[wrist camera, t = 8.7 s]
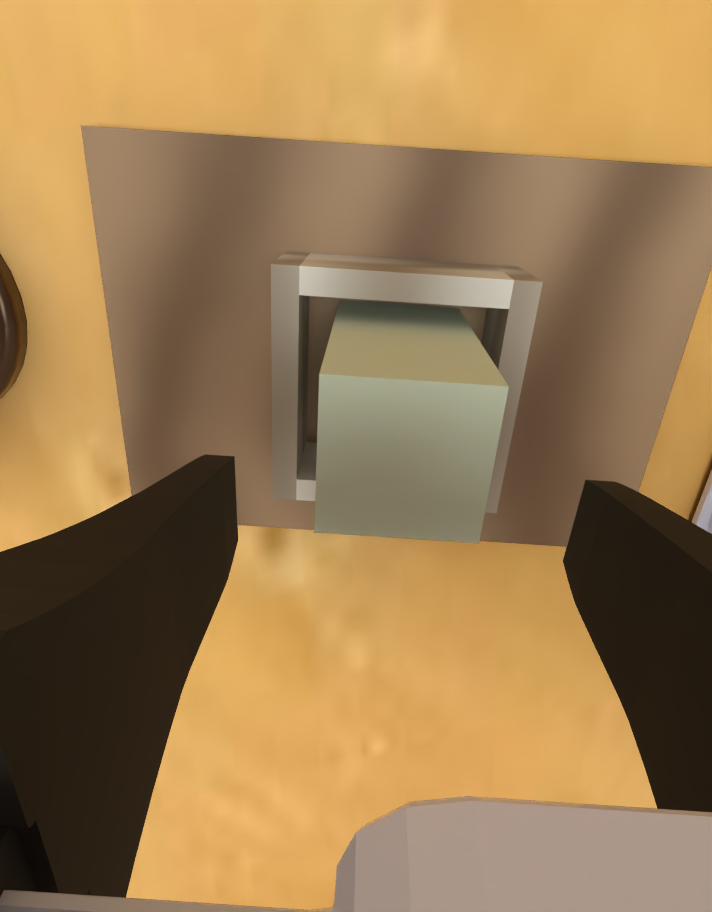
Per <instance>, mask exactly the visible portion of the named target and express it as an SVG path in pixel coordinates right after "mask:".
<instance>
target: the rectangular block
mask: <svg viewBox="0 0 712 912" xmlns="http://www.w3.org/2000/svg"><path fill="white" fill-rule="evenodd" d="M508 389H509V386H508V384H507V383H506V381H505V380H504V378H503V377H502V375H501V373H500V372H499V370H498V369H497V367H496V366H495V364H494V363H493V361H492V360H491V358H490V356H489V355H488V353H487V352H486V350H485V349H484V347H483V346H482V344H481V342H480V341H479V339H478V338H477V336H476V335H475V333H474V332H473V330H472V328H471V327H470V325H469V324H468V322H467V321H466V319H465V318H464V316H463V315H462V313H461V311H460V310H459V308H454V307H439V306H425V305H410V304H395V303H380V302H365V301H350V300H340V302H339V305H338V309H337V313H336V316H335V320H334V323H333V327H332V330H331V334H330V337H329V341H328V345H327V348H326V352H325V355H324V359H323V362H322V366H321V369H320V373H319V398H318V428H317V459H316V490H315V521H314V532H317V533H332V534H347V535H362V536H377V537H392V538H407V539H422V540H437V541H451V542H466V543H479V541H480V535H481V530H482V525H483V520H484V515H485V509H486V504H487V499H488V494H489V488H490V483H491V478H492V473H493V467H494V462H495V457H496V452H497V447H498V441H499V436H500V431H501V426H502V420H503V415H504V410H505V405H506V400H507V394H508Z"/></svg>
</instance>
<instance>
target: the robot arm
mask: <svg viewBox="0 0 712 912" xmlns="http://www.w3.org/2000/svg"><path fill="white" fill-rule="evenodd" d="M237 542H238V526H237V502H236V478H235V456H222V455H207V454H205V455H203V456H200V457H198V458H196V459H195V460H193V461H191V462H189V463H188V464H186V465H184V466H183V467H181V468H179V469H178V470H176V471H174V472H173V473H171V474H170V475H168V476H166V477H164V478H163V479H161V480H159V481H158V482H156V483H154V484H153V485H151V486H149V487H148V488H146V489H144V490H143V491H141V492H139V493H137V494H135V495H133V496H131V497H130V498H128V499H126V500H124V501H122V502H120V503H118V504H116V505H115V506H113V507H111V508H109V509H107V510H105V511H103V512H101V513H99V514H97V515H95V516H93V517H91V518H89V519H86V520H84V521H82V522H80V523H78V524H75V525H73V526H70V527H68V528H66V529H63V530H61V531H58V532H56V533H54V534H51V535H49V536H46V537H43V538H41V539H38V540H35V541H32V542H29V543H26V544H23V545H20V546H17V547H14V548H11V549H8V550H5V551H2V552H0V912H712V470H711V473H710V475H709V478H708V480H707V483H706V485H705V488H704V491H703V493H702V496H701V498H700V501H699V504H698V506H697V509H696V511H695V514H694V517H693V519H692V522H690V521H688V520H686V519H685V518H683V517H681V516H679V515H678V514H676V513H674V512H673V511H671V510H669V509H667V508H666V507H664V506H662V505H660V504H659V503H657V502H655V501H653V500H652V499H650V498H648V497H646V496H644V495H642V494H641V493H639V492H637V491H635V490H633V489H631V488H629V487H627V486H625V485H622V484H620V483H618V482H613V481H598V480H585V483H584V487H583V490H582V494H581V498H580V501H579V505H578V509H577V512H576V516H575V519H574V523H573V527H572V530H571V534H570V538H569V541H568V545H567V549H566V552H565V556H564V559H563V563H564V567H565V570H566V574H567V578H568V581H569V585H570V588H571V591H572V595H573V598H574V601H575V604H576V606H577V608H578V611H579V613H580V615H581V617H582V619H583V622H584V624H585V626H586V628H587V630H588V632H589V635H590V637H591V639H592V641H593V643H594V645H595V647H596V650H597V652H598V654H599V656H600V658H601V660H602V662H603V664H604V667H605V669H606V671H607V673H608V675H609V677H610V679H611V681H612V684H613V686H614V688H615V690H616V692H617V694H618V696H619V699H620V701H621V703H622V706H623V708H624V711H625V713H626V715H627V718H628V720H629V723H630V726H631V729H632V732H633V735H634V737H635V740H636V743H637V746H638V749H639V752H640V755H641V758H642V761H643V764H644V767H645V769H646V773H647V776H648V779H649V782H650V785H651V789H652V792H653V795H654V798H655V802H656V805H657V808H658V809H653V808H638V807H623V806H608V805H593V804H578V803H563V802H548V801H533V800H518V799H503V798H488V797H473V796H465V797H455V798H445V799H434V800H424V801H414V802H409V803H407V804H405V805H403V806H401V807H399V808H397V809H395V810H393V811H391V812H389V813H387V814H385V815H383V816H381V817H379V818H377V819H375V820H373V821H371V822H369V823H367V824H366V825H365V826H363V827H362V828H361V829H360V830H358V831H357V832H356V833H355V835H354V837H353V839H352V840H351V842H350V844H349V846H348V848H347V849H346V851H345V853H344V855H343V856H342V858H341V860H340V862H339V863H338V865H337V873H336V886H335V899H334V905H333V907H330V908H322V909H315V910H301V909H286V908H271V907H256V906H241V905H226V904H211V903H196V902H181V901H166V900H151V899H137V898H126V894H127V890H128V886H129V882H130V878H131V874H132V869H133V865H134V861H135V857H136V853H137V850H138V846H139V842H140V838H141V834H142V831H143V827H144V823H145V819H146V815H147V811H148V808H149V804H150V800H151V796H152V792H153V789H154V785H155V782H156V778H157V775H158V771H159V767H160V764H161V760H162V757H163V753H164V750H165V746H166V743H167V739H168V736H169V732H170V729H171V726H172V722H173V719H174V716H175V712H176V709H177V706H178V702H179V699H180V696H181V693H182V689H183V687H184V684H185V681H186V679H187V676H188V673H189V671H190V668H191V666H192V663H193V661H194V659H195V656H196V654H197V651H198V649H199V647H200V644H201V642H202V640H203V637H204V635H205V633H206V630H207V628H208V625H209V623H210V621H211V618H212V616H213V614H214V611H215V609H216V607H217V604H218V602H219V599H220V597H221V594H222V592H223V590H224V587H225V585H226V582H227V580H228V576H229V573H230V569H231V565H232V562H233V558H234V554H235V550H236V546H237Z"/></svg>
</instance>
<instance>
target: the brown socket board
mask: <svg viewBox="0 0 712 912" xmlns="http://www.w3.org/2000/svg"><path fill="white" fill-rule="evenodd" d="M81 130H82V137H83V144H84V151H85V159H86V166H87V173H88V180H89V188H90V195H91V202H92V210H93V217H94V224H95V231H96V239H97V246H98V253H99V260H100V268H101V275H102V282H103V290H104V297H105V304H106V311H107V319H108V326H109V333H110V340H111V348H112V355H113V362H114V370H115V377H116V384H117V391H118V399H119V406H120V413H121V420H122V428H123V435H124V442H125V450H126V457H127V464H128V471H129V479H130V486H131V493H132V496H133V495H135V494H137V493H139V492H141V491H143V490H144V489H146V488H148V487H149V486H151V485H153V484H154V483H156V482H158V481H159V480H161V479H163V478H164V477H166V476H168V475H170V474H171V473H173V472H174V471H176V470H178V469H179V468H181V467H183V466H184V465H186V464H188V463H189V462H191V461H193V460H195V459H196V458H198V457H200V456H203V455H205V454H207V455H222V456H235V478H236V502H237V525H247V526H262V527H277V528H292V529H307V530H314V521H315V490H316V459H317V428H318V398H319V373H320V369H321V366H322V362H323V359H324V355H325V352H326V348H327V345H328V341H329V337H330V334H331V330H332V327H333V323H334V320H335V316H336V313H337V309H338V305H339V302H340V300H350V301H365V302H380V303H395V304H410V305H425V306H439V307H454V308H459V310H460V311H461V313H462V315H463V316H464V318H465V319H466V321H467V322H468V324H469V325H470V327H471V328H472V330H473V332H474V333H475V335H476V336H477V338H478V339H479V341H480V342H481V344H482V346H483V347H484V349H485V350H486V352H487V353H488V355H489V356H490V358H491V360H492V361H493V363H494V364H495V366H496V367H497V369H498V370H499V372H500V373H501V375H502V377H503V378H504V380H505V381H506V383H507V384H508V386H509V389H508V394H507V400H506V405H505V410H504V415H503V420H502V426H501V431H500V436H499V441H498V447H497V452H496V457H495V462H494V467H493V473H492V478H491V483H490V488H489V494H488V499H487V504H486V509H485V515H484V520H483V525H482V530H481V535H480V541H489V542H504V543H519V544H534V545H550V546H565V547H567V545H568V541H569V538H570V534H571V530H572V527H573V523H574V519H575V516H576V512H577V509H578V505H579V501H580V498H581V494H582V490H583V487H584V483H585V480H598V481H613V482H618V483H620V484H622V485H625V486H627V487H629V488H631V489H633V490H635V491H637V492H638V491H639V488H640V485H641V482H642V479H643V476H644V472H645V469H646V466H647V463H648V460H649V457H650V454H651V451H652V448H653V445H654V442H655V439H656V436H657V433H658V430H659V427H660V423H661V420H662V417H663V414H664V411H665V408H666V405H667V402H668V399H669V396H670V393H671V390H672V387H673V384H674V381H675V378H676V374H677V371H678V368H679V365H680V362H681V359H682V356H683V353H684V350H685V347H686V344H687V341H688V338H689V335H690V332H691V329H692V325H693V322H694V319H695V316H696V313H697V310H698V307H699V304H700V301H701V298H702V295H703V292H704V289H705V286H706V283H707V280H708V276H709V273H710V270H711V267H712V167H700V166H684V165H669V164H654V163H639V162H624V161H609V160H594V159H578V158H563V157H548V156H533V155H518V154H503V153H488V152H473V151H457V150H442V149H427V148H412V147H397V146H382V145H367V144H351V143H336V142H321V141H306V140H291V139H276V138H261V137H245V136H230V135H215V134H200V133H185V132H170V131H155V130H140V129H124V128H109V127H94V126H81Z"/></svg>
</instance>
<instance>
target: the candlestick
mask: <svg viewBox="0 0 712 912" xmlns="http://www.w3.org/2000/svg"><path fill="white" fill-rule="evenodd" d="M26 347H27V322H26V317H25V312H24V308H23V303H22V299H21V295H20V293H19V290H18V288H17V286H16V283H15V281H14V278H13V276H12V274H11V271H10V269H9V268H8V266H7V265H6V263H5V261H4V260H3V258H2V256H1V255H0V399H1V398H2V397H3V396H4V395H5V394H6V392H7V391H8V390H9V389H10V388H11V387H12V385H13V384H14V383H15V381H16V379H17V377H18V375H19V372H20V370H21V368H22V366H23V363H24V357H25V352H26Z"/></svg>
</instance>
